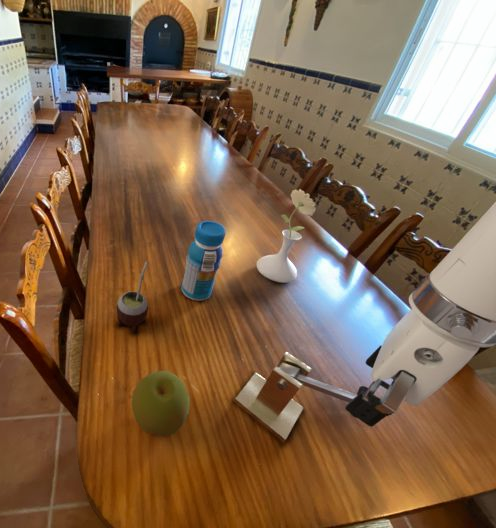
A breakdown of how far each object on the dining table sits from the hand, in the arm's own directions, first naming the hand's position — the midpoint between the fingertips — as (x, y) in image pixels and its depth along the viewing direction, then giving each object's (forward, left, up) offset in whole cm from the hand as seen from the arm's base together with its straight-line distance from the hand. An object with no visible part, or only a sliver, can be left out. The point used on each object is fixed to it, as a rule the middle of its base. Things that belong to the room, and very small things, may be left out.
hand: (367, 391), depth 41 cm
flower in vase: (+1, -48, -18) cm, 51 cm away
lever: (+3, -2, -6) cm, 7 cm away
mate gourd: (+37, -18, -18) cm, 45 cm away
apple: (+27, +2, -18) cm, 33 cm away
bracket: (+7, -5, -18) cm, 20 cm away
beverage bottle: (+23, -33, -18) cm, 44 cm away
